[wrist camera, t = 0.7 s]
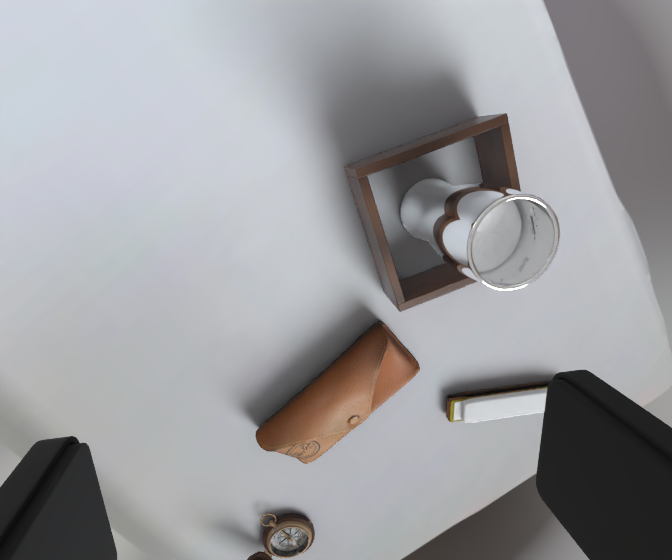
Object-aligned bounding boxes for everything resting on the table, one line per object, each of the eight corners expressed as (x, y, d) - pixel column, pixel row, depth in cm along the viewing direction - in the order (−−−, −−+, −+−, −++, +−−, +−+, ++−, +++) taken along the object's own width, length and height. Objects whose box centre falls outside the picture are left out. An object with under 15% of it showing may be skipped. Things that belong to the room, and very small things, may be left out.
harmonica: (560, 378, 51) (571, 387, 49) (556, 400, 52) (567, 409, 50) (446, 393, 49) (453, 403, 47) (445, 415, 50) (452, 426, 48)
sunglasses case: (308, 470, 48) (291, 494, 42) (269, 421, 50) (247, 437, 43) (425, 365, 47) (426, 374, 40) (382, 318, 48) (376, 318, 42)
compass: (324, 530, 52) (333, 589, 46) (273, 566, 53) (275, 629, 46) (284, 493, 50) (288, 550, 43) (231, 531, 50) (226, 593, 43)
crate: (343, 166, 39) (355, 169, 34) (478, 116, 40) (507, 113, 35) (384, 294, 44) (399, 312, 39) (504, 247, 45) (533, 260, 40)
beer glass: (442, 158, 40) (539, 168, 26) (473, 217, 43) (577, 255, 29) (382, 200, 41) (446, 232, 27) (417, 257, 43) (492, 313, 29)
